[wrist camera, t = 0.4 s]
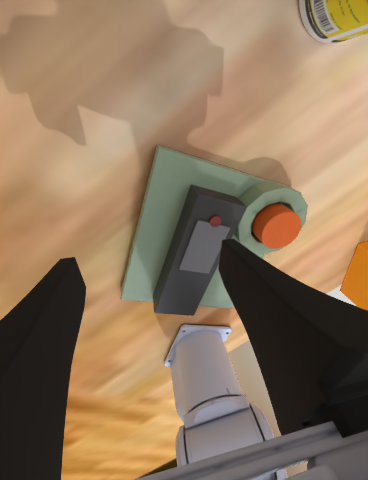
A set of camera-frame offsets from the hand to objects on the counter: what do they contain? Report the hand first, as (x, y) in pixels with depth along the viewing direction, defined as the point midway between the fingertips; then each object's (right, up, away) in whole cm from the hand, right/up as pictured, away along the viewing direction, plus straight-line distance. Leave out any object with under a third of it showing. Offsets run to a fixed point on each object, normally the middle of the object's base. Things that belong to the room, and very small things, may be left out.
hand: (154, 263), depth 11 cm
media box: (+3, +1, +12) cm, 13 cm away
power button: (+9, +3, +9) cm, 13 cm away
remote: (+2, 0, +11) cm, 11 cm away
